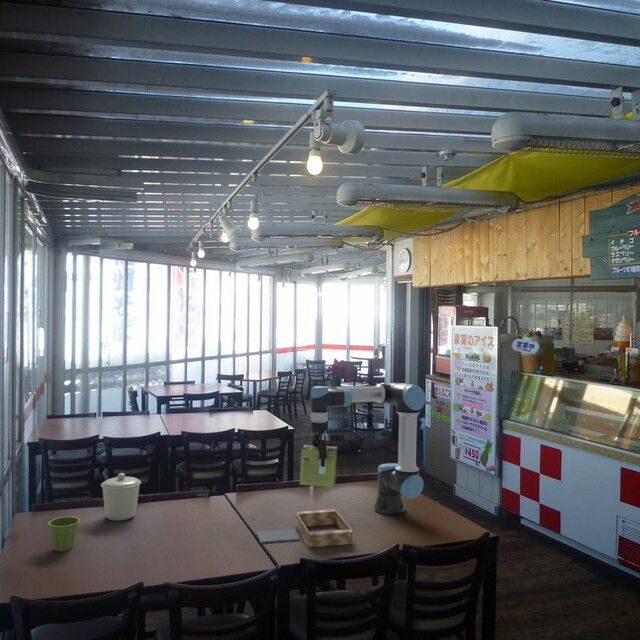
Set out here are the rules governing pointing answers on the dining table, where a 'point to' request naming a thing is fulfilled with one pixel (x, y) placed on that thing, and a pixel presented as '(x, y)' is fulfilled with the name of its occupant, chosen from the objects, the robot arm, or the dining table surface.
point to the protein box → (317, 467)
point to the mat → (278, 535)
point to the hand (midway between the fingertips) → (318, 470)
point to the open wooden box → (325, 536)
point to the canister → (120, 497)
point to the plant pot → (63, 532)
